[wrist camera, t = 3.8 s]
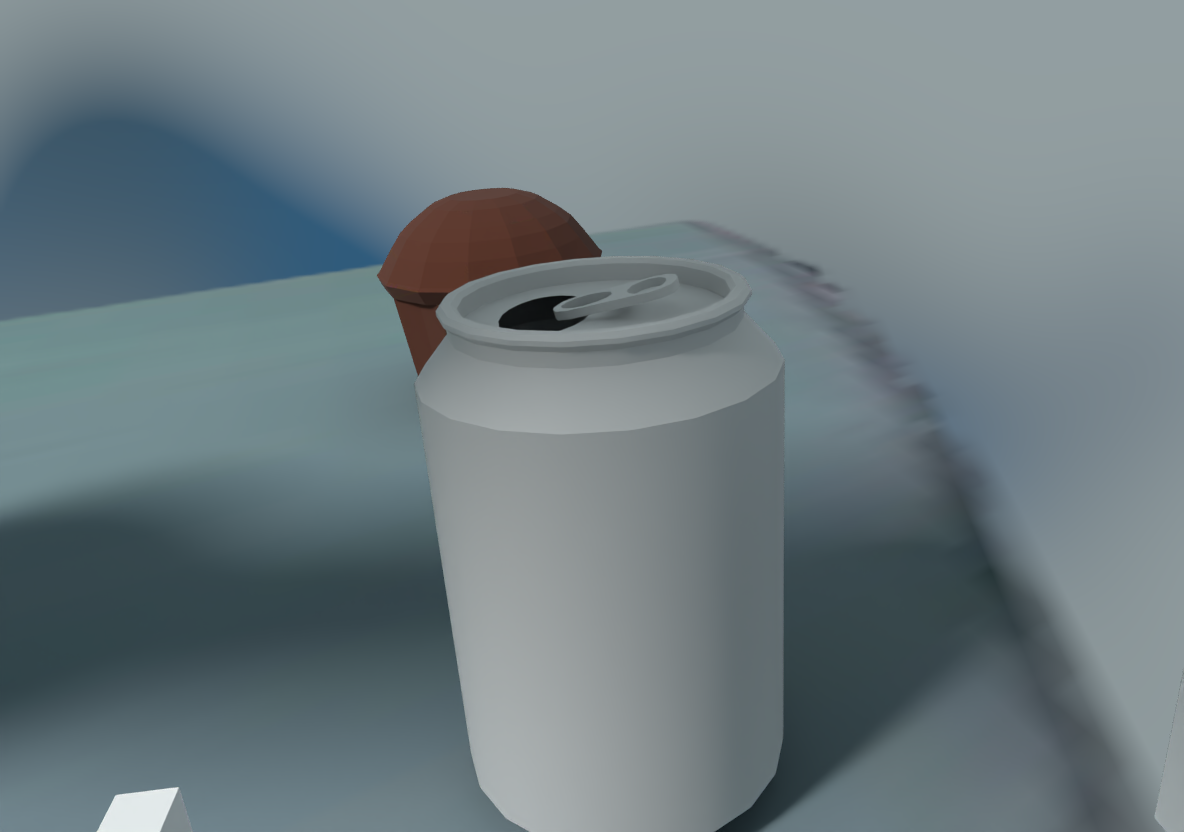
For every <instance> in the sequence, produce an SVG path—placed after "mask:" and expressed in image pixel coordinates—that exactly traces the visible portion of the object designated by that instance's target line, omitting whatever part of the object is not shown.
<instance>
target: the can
mask: <svg viewBox="0 0 1184 832" xmlns="http://www.w3.org/2000/svg"><path fill="white" fill-rule="evenodd" d="M751 295H752V289H751V288H750V286H749V284H748V282H747V281H746V279H745V278H744V277H743V276H742V275H741V274H739V273H737V272H735V271H733V270H730V269H728V268H726V267H724V266H721V265H718V264H713V263H708V262H703V261H698V260H693V259H684V258H672V257H659V256H611V257H596V258H582V259H571V260H563V261H556V262H549V263H542V264H535V265H530V266H525V267H521V268H516V269H512V270H507V271H502V272H498V273H495V274H492V275H489V276H486V277H483V278H480V279H477V280H474V281H471V282H468V283H466V284H465V285H463V286H461V287H459V288H457V289H456V290H454V291H452V292H450V293H449V294H447V295H446V297H445V298H444V299H443V301H442V302H441V304H440V305H439V307H438V308H437V310H436V316H437V318H438V320H439V321H440V323H441V325H442V326H443V328H444V329H445V330H446V332H447V335H446V336H445V337H444V339H443V340H442V342H441V343H440V344H439V346H438V347H437V349H436V350H435V351H434V353H433V354H432V356H431V357H430V358H429V360H428V361H427V362H426V364H425V365H424V367H423V369H422V371H421V372H420V374H419V376H418V378H417V379H416V381H415V383H414V386H415V392H416V399H417V405H418V412H419V418H420V425H421V431H422V438H423V444H424V451H425V457H426V464H427V470H428V477H429V483H430V490H431V496H432V503H433V509H434V516H435V522H436V529H437V535H438V542H439V548H440V555H441V561H442V568H443V574H444V581H445V587H446V594H447V600H448V607H449V613H450V620H451V626H452V633H453V639H454V646H455V652H456V659H457V665H458V671H459V678H460V684H461V691H462V697H463V704H464V710H465V717H466V723H467V730H468V736H469V743H470V749H471V755H472V758H473V762H474V766H475V770H476V774H477V777H478V781H479V785H480V788H481V789H482V790H483V791H484V793H485V794H486V795H487V796H488V797H489V799H490V800H491V801H492V802H493V803H494V805H495V806H496V807H497V808H498V809H499V811H500V812H501V813H502V814H503V815H504V817H505V818H506V819H508V820H510V821H512V822H513V823H515V824H517V825H519V826H520V827H522V828H524V829H526V830H527V831H529V832H715V831H716V830H718V829H719V828H721V827H722V826H724V825H725V824H727V823H728V822H730V821H731V820H733V819H734V818H736V817H737V816H739V815H740V814H742V813H743V812H745V811H746V810H748V809H749V808H751V807H752V805H753V804H754V803H755V801H756V800H757V798H758V797H759V796H760V794H761V793H762V792H763V790H764V789H765V788H766V786H767V785H768V783H769V782H770V781H771V779H772V778H773V777H774V775H775V774H776V770H777V765H778V760H779V755H780V751H781V746H782V741H783V637H784V375H785V360H784V358H783V356H782V354H781V352H780V351H779V349H778V347H777V345H776V343H775V342H774V341H773V340H772V339H771V338H770V337H769V336H768V335H767V334H766V333H765V332H764V331H763V330H762V329H761V328H760V327H759V326H758V325H757V324H756V323H755V322H754V320H753V319H752V318H751V317H750V316H749V315H748V314H747V313H746V312H745V311H744V306H745V304H746V303H747V301H748V300H749V298H750V297H751Z"/></svg>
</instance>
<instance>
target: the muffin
mask: <svg viewBox="0 0 1184 832" xmlns="http://www.w3.org/2000/svg"><path fill="white" fill-rule="evenodd" d="M601 253H602V250H600V249H599V248H598V246H597V245H596V244H595V243H594V241H593V240H592V239H591V238H590V237H589V235H588V234H587V233H586V232H585V230H584V229H583V228H582V227H581V226H580V225H579V223H578V222H577V221H576V220H575V219H574V218H573V217H572V216H571V215H570V214H569V213H567V212H566V211H565V210H563V209H562V208H560V207H559V206H557V205H555V204H553V203H552V202H550V201H548V200H546V199H544V198H542V197H541V196H539V195H537V194H534V193H532V192H527V191H522V190H517V189H510V188H490V189H480V190H472V191H466V192H460V193H457V194H453V195H450V196H448V197H445V198H443V199H441V200H438V201H436V202H434V203H433V204H431V205H430V206H429V207H427V208H426V209H425V210H424V211H423V212H422V213H420V214H419V215H418V216H417V217H416V218H415V219H413V220H412V221H411V222H410V223H409V224H408V225H407V226H406V227H405V228H404V230H403V231H402V232H401V233H400V234H399V236H398V238H397V240H396V242H395V243H394V245H393V247H392V248H391V250H390V252H389V254H388V256H387V258H386V260H385V262H384V264H383V266H382V268H381V270H380V272H379V273H378V275H377V277H378V278H379V280H380V281H381V283H382V285H383V286H384V288H385V289H386V290H387V291H388V293H389V294H390V295H391V296H392V297H393V298H394V301H395V304H396V307H397V310H398V313H399V317H400V320H401V323H402V326H403V329H404V333H405V336H406V339H407V342H408V345H409V348H410V352H411V355H412V358H413V361H414V364H415V367H416V371H417V374H418V376H419V374H420V372H421V371H422V369H423V367H424V365H425V364H426V362H427V361H428V360H429V358H430V357H431V356H432V354H433V353H434V351H435V350H436V349H437V347H438V346H439V344H440V343H441V342H442V340H443V339H444V337H445V336H446V335H447V332H446V330H445V329H444V328H443V326H442V325H441V323H440V321H439V320H438V318H437V316H436V310H437V308H438V307H439V305H440V304H441V302H442V301H443V299H444V298H445V297H446V295H447V294H449V293H450V292H452V291H454V290H456V289H457V288H459V287H461V286H463V285H465V284H466V283H468V282H471V281H474V280H477V279H480V278H483V277H486V276H489V275H492V274H495V273H498V272H502V271H507V270H512V269H516V268H521V267H525V266H530V265H535V264H542V263H549V262H556V261H563V260H571V259H582V258H596V257H601Z"/></svg>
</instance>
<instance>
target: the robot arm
mask: <svg viewBox="0 0 1184 832" xmlns="http://www.w3.org/2000/svg"><path fill="white" fill-rule="evenodd" d="M1154 818H1155V819H1156V821H1157V822H1158V823H1159V824H1160V825H1161V826H1162V828H1163V829H1164V830H1165V831H1166V832H1184V670H1183V675H1182V680H1181V685H1180V690H1179V695H1178V700H1177V705H1176V710H1175V715H1174V720H1173V726H1172V730H1171V735H1170V741H1169V746H1168V751H1167V756H1166V761H1165V766H1164V771H1163V776H1162V781H1161V786H1160V791H1159V796H1158V801H1157V806H1156V811H1155V816H1154ZM97 832H193V831H192V828H191V824H190V821H189V818H188V815H187V811H186V808H185V805H184V802H183V798H182V795H181V792H180V788H179V787H176V788H168V789H160V790H152V791H144V792H137V793H129V794H121V795H116V796H115V798H114V800H113V802H112V804H111V806H110V807H109V809H108V811H107V813H106V815H105V817H104V819H103V821H102V823H101V825H100V827H99V829H98V831H97Z"/></svg>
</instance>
